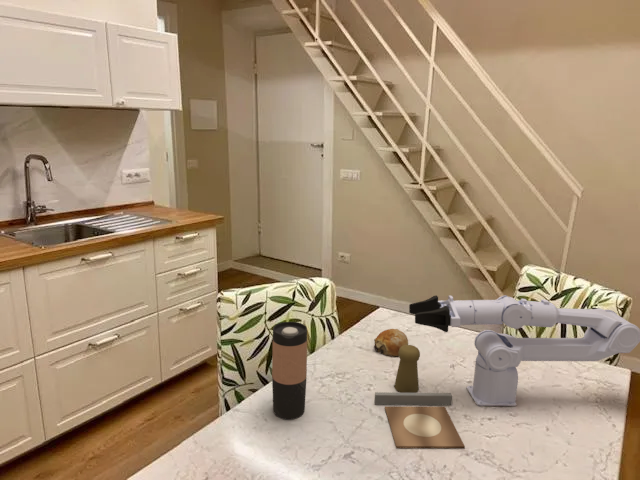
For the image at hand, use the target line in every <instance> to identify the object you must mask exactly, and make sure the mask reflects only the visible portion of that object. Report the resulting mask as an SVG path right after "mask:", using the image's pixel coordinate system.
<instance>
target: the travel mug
mask: <svg viewBox="0 0 640 480" xmlns="http://www.w3.org/2000/svg"><path fill="white" fill-rule="evenodd" d="M271 356H272V357H271V359H272V362H271V363H272V366H271V375H272V377H271V378H272V379H271V381H272V383H271V385H272V410H273V414H274V415H275V416H276V417H277V418H279V419H282V420H295V419H298V418H300V417H302V416H303V415H304V413H305V409H306V406H305V405H306V396H307V395H306V393H307V376H308V375H307V374H308V372H307V370H308V368H307V367H308V366H307V365H308V362H307V361H308V328H307V326H306V325H305V324H303V323H301V322H298V321H297V322H296V321H283V322H279V323H277V324H275V325H274V326H273V328H272V355H271Z"/></svg>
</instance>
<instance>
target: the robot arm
mask: <svg viewBox="0 0 640 480" xmlns="http://www.w3.org/2000/svg"><path fill="white" fill-rule="evenodd" d="M447 296H448V297H447V298H448V299H446V300H442V299H441V300H439V296H438V295H433V296H431V297H428V298H427V299H425V300H422V301H417V302H414V303H413V302H412V303H409V304H408V307H409V308H408V309H409V311H408V312H409V314H412V315H414V323H415V324H417V325H421V326H425V327H426V326H428V327H432V328H435V329H438V330H440V331H442V332H444V333H448V332H449V327H451V328H461V326H476V325H477V326H478V325H479V326H482V325H484V326H485V325H488V326H489V325H503V324H504V325H505V326H506V327H508V328H511V329H514V330H518V329H521V328H523V327H524V326H527V327H538V328H539V327H540V328H552V327H554V326H556V324H562V325H563V324H564V325H571V326H578V327H586V328H587V329H586V330H585V332H584V334H583V336H582V337H515V336H513V335H510V334H507V333H501V332H500V333H499V332H496V331H494V330H492V329H485V330H482V331H480V332H479V333H478V334H477V335H476V336H475V337H474V346H475V349H476V350H477V355H476V357H475V358H476V359H475V364H474V365H475V366H474V374H473V383H472V385H467V386H466V390H467V391H468V393H469V395H470V396H471V399H473V401H474V403H475V404H476V405H477V406H480V407H481V406H483V407H484V406H485V407H486V406H493V407H494V406H495V407H496V406H498V407H499V406H501V407H502V406H503V407H504V406H505V407H508V406H509V407H514V406H515V407H516V406H517V403H516V398H517V393H518V391H517V390H518V385H519V384H518V383H519V373H518V369H517V368H518V367H519V366H520V364H521V362H599V361H601V360H604V359H606V358H610V357H613V356H614V355H617V354H630V353H631V352H632V351H633V350H634V349H635V348H636V347H637V346H638V344H640V328H639V326H638V325H636V324H634V323H632V322H630V321H629V320H627V319H625V318H624V317H622V316H621V315H619V314H618V313H617V312H616V311H613V310H611V309H602V308H599V307H598V308H564V307H563V308H562V307H561V308H560V307H559V308H557V307H556V305H555V304H554V303H553V302H550V301H549V300H547V299H541V300H540V301H534V300H533V301H532V300H527V298H520V300H516V298H514V297H511V296H508V295H506V294H505V295H501V296H499V297H498V298H496V299H465V300H464V299H462V300H461V299H459V300H458V299H457V300H454V297H453V295H447Z"/></svg>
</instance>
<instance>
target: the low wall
mask: <svg viewBox="0 0 640 480" xmlns="http://www.w3.org/2000/svg"><path fill="white" fill-rule="evenodd" d="M452 401H453V394H452V393H451V392H417V393H400V392H387V391H386V392H381V391H380V392H378V391H377V392H374V406H375V405H376V406H452Z"/></svg>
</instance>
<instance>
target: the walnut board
mask: <svg viewBox="0 0 640 480" xmlns="http://www.w3.org/2000/svg"><path fill="white" fill-rule="evenodd" d="M384 411H385V414H386V418H387V421H388V425H389V429H390V431H391V436H392V439H393V442H394V446H395V449H465V447H466V446H465V444H464V441H463V440H462V438H461V436H460V434H459V432H458V430H457V428H456V426H455V424H454V423H453V420H452V419H451V416H450V414H449V412H448V411H447V408H446V406H402V405H384Z"/></svg>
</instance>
